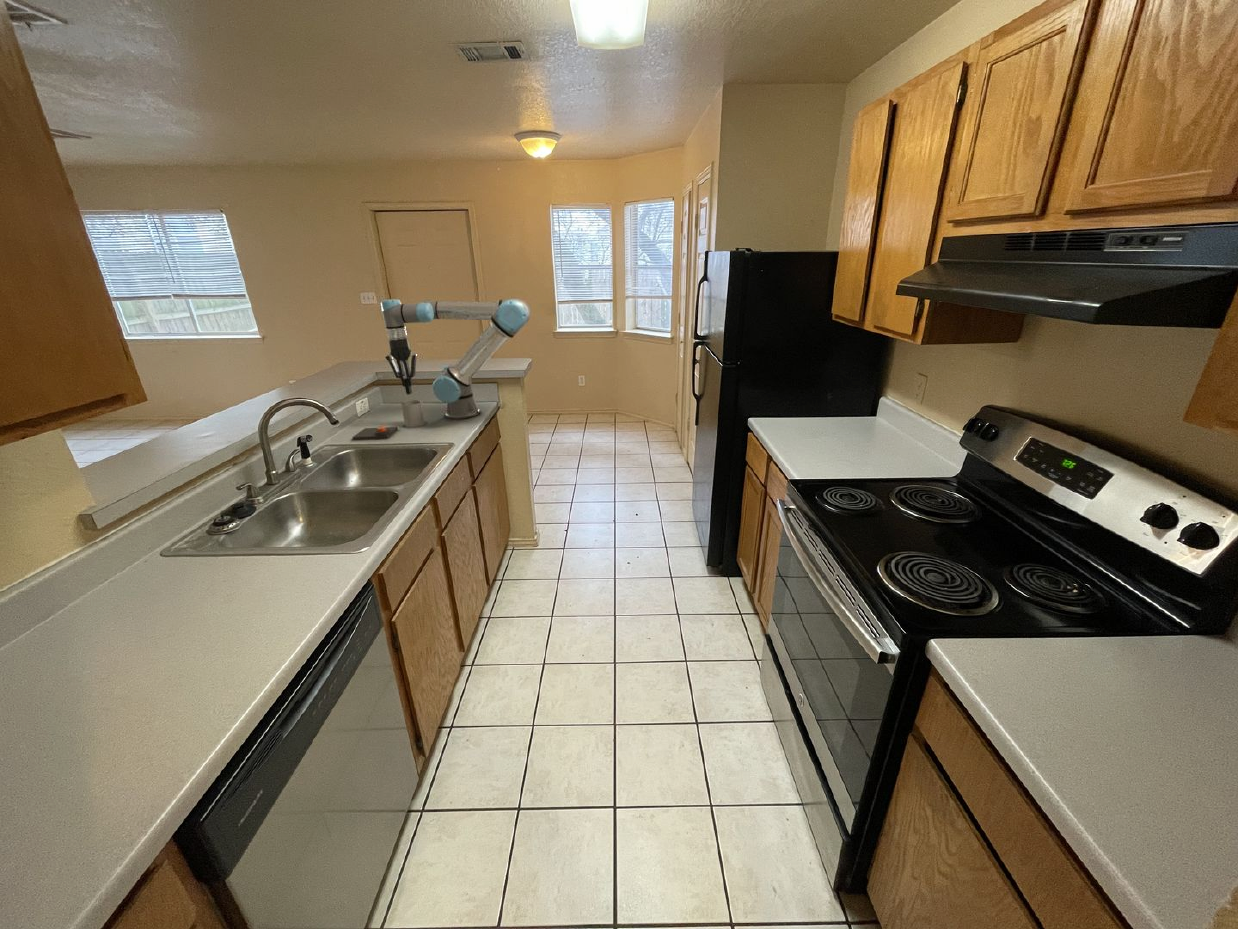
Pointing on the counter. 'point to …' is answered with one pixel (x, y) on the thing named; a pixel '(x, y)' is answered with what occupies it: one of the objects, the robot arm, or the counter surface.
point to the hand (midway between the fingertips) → (409, 393)
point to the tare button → (381, 429)
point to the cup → (412, 413)
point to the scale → (375, 433)
